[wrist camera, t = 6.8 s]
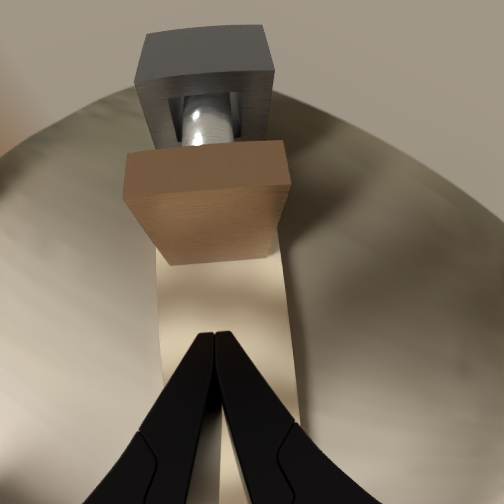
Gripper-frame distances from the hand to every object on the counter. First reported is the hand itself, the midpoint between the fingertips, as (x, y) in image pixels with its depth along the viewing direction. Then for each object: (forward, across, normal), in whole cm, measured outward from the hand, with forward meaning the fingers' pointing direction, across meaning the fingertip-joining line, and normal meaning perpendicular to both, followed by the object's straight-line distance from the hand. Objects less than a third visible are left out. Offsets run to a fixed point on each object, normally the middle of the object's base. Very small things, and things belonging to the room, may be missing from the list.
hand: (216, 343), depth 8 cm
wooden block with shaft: (+15, 0, -1) cm, 15 cm away
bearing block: (+18, 0, -3) cm, 18 cm away
